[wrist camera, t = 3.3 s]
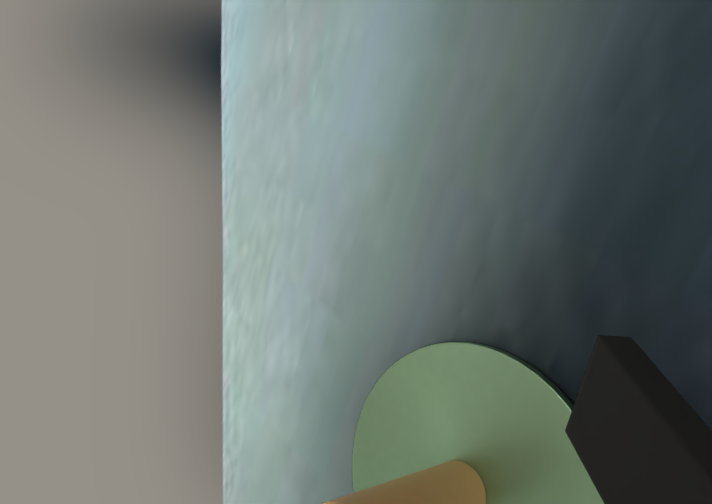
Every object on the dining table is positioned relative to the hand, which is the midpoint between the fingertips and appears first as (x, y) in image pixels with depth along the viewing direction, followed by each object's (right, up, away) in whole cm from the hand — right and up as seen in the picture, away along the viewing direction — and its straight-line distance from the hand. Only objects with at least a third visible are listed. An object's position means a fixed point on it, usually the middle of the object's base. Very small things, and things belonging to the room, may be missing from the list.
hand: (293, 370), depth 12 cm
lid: (+7, -9, +17) cm, 21 cm away
